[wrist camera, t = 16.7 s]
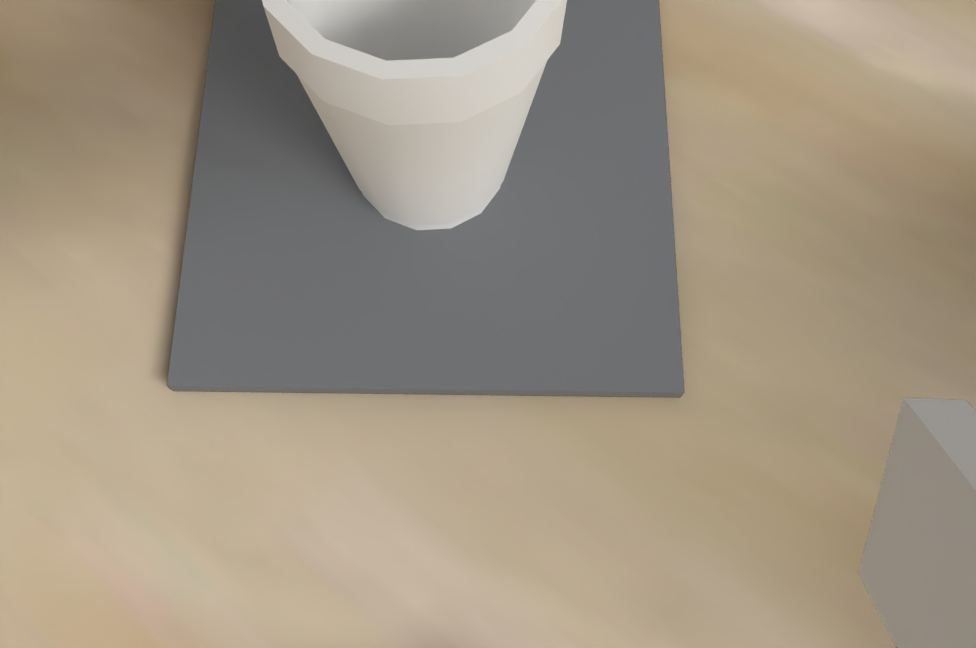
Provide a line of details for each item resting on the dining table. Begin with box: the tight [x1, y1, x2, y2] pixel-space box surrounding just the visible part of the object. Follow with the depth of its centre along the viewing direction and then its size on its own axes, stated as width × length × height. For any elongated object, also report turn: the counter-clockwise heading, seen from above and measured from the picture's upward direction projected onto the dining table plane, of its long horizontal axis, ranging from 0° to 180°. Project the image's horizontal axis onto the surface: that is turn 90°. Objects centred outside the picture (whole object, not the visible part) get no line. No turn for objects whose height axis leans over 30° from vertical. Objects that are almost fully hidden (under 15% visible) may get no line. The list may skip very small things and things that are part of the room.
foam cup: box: [262, 0, 567, 230], centre depth 33 cm, size 10×9×13 cm
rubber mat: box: [167, 0, 684, 398], centre depth 39 cm, size 20×20×1 cm
